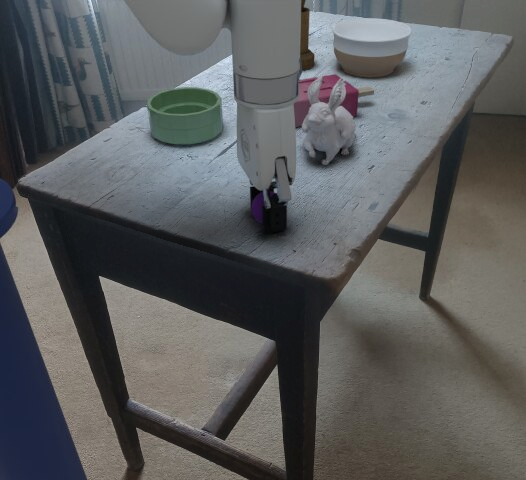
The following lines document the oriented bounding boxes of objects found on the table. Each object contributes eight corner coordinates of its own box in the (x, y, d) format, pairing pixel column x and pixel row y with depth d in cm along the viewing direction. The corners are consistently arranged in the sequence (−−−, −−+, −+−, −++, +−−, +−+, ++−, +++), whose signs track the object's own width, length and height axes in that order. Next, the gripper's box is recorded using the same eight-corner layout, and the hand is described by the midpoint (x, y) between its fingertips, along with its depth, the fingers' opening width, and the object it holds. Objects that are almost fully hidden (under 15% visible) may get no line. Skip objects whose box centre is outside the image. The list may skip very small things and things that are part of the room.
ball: (257, 233, 77) (256, 204, 74) (247, 216, 80) (246, 188, 77) (289, 227, 78) (289, 198, 75) (278, 211, 81) (278, 182, 78)
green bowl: (158, 152, 95) (154, 119, 92) (146, 123, 104) (141, 92, 101) (231, 141, 98) (229, 109, 95) (212, 113, 107) (210, 83, 103)
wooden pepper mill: (290, 72, 123) (292, -24, 112) (278, 63, 128) (278, -31, 116) (319, 67, 125) (323, -28, 113) (306, 58, 130) (309, -34, 118)
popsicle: (385, 85, 103) (280, 103, 98) (382, 112, 106) (280, 130, 101) (360, 69, 110) (261, 85, 104) (358, 94, 113) (261, 111, 107)
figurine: (288, 166, 91) (289, 84, 83) (320, 128, 101) (323, 52, 93) (338, 175, 88) (344, 92, 80) (365, 135, 99) (373, 58, 91)
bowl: (360, 51, 133) (363, 13, 128) (421, 67, 124) (427, 27, 119) (314, 69, 124) (316, 29, 119) (376, 87, 115) (381, 45, 110)
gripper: (215, 65, 72) (224, 196, 84) (257, 117, 60) (261, 261, 72) (273, 58, 74) (274, 187, 86) (325, 106, 62) (318, 249, 73)
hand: (268, 219), depth 78 cm, fingers closed on ball, 4 cm apart
